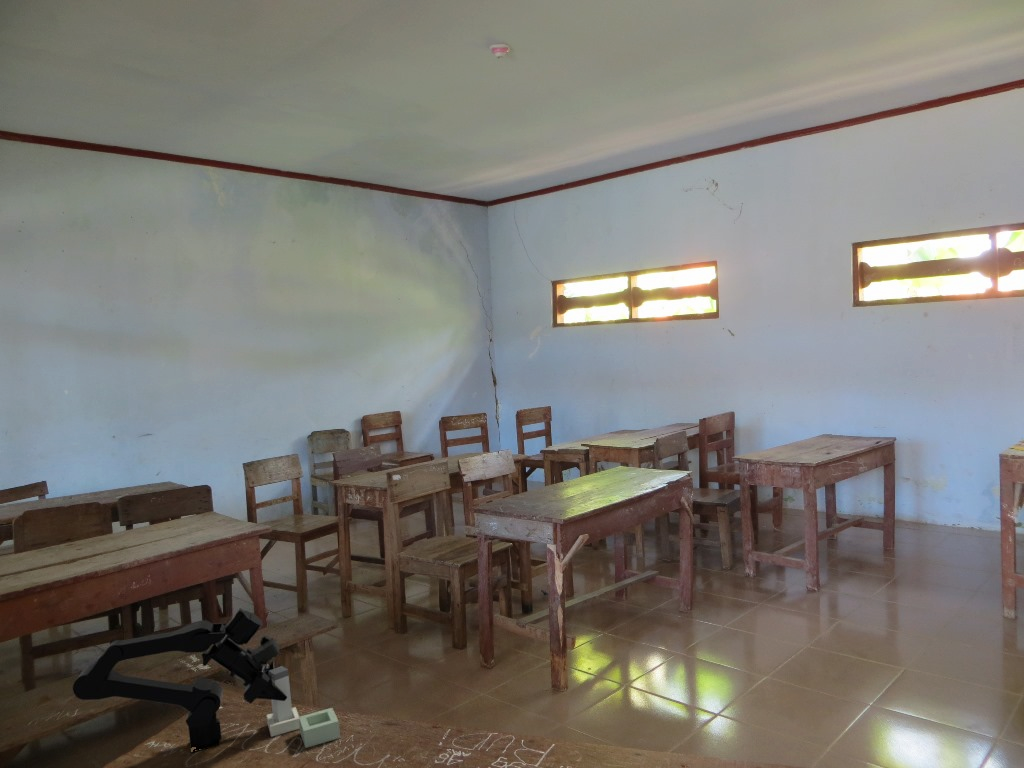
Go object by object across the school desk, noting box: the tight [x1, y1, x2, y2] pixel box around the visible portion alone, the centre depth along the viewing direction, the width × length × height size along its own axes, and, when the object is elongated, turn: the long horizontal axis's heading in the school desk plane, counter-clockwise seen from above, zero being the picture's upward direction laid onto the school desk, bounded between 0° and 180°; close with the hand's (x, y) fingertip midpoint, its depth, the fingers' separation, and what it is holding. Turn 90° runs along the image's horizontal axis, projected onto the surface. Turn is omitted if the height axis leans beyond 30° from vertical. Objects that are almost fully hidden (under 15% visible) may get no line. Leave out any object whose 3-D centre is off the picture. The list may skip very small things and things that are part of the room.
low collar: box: [266, 706, 300, 738], centre depth 182 cm, size 7×7×2 cm
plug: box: [268, 665, 293, 722], centre depth 182 cm, size 4×4×12 cm
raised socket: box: [299, 707, 341, 749], centre depth 176 cm, size 8×8×4 cm
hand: (286, 694), depth 182 cm, fingers closed on plug, 5 cm apart
